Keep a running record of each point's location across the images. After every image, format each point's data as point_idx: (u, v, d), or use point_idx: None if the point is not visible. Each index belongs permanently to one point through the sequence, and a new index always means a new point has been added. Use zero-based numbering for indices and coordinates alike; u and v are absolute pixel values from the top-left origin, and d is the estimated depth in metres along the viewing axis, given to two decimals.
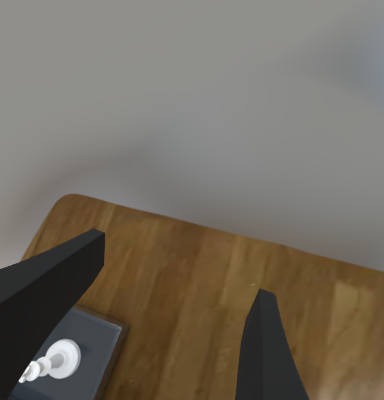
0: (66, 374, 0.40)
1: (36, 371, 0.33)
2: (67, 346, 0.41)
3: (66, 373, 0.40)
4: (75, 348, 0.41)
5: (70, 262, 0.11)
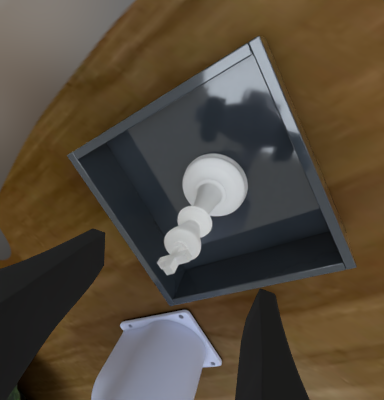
0: None
1: None
2: (235, 182, 0.20)
3: None
4: (243, 194, 0.21)
5: (70, 262, 0.11)
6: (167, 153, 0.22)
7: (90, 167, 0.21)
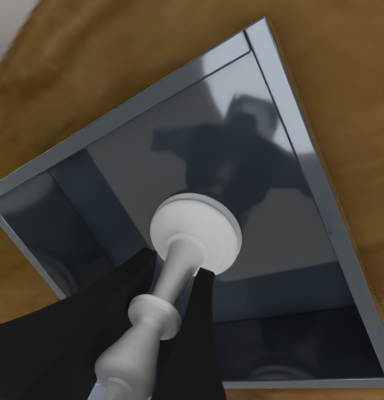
0: None
1: (138, 399, 0.09)
2: (223, 237, 0.14)
3: None
4: (235, 253, 0.14)
5: (131, 285, 0.11)
6: (129, 188, 0.15)
7: (13, 211, 0.14)
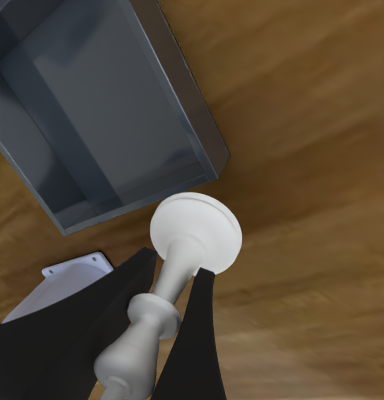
0: None
1: (137, 398, 0.09)
2: (223, 237, 0.14)
3: None
4: (235, 252, 0.14)
5: (131, 285, 0.11)
6: (53, 73, 0.21)
7: None
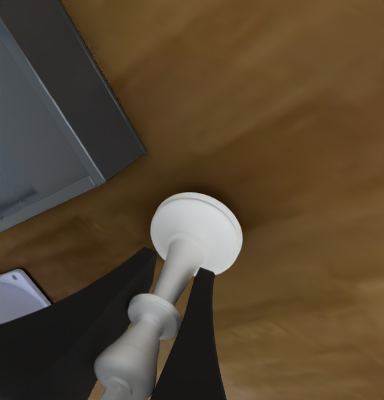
0: None
1: (137, 398, 0.09)
2: (224, 237, 0.14)
3: None
4: (236, 252, 0.14)
5: (131, 285, 0.11)
6: None
7: None
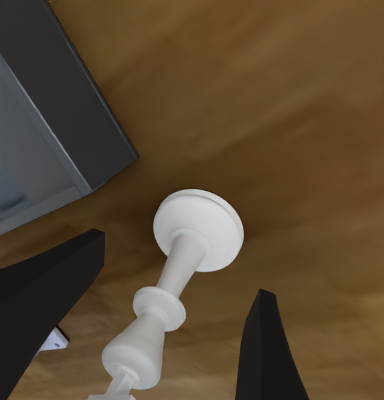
0: None
1: (144, 386, 0.09)
2: (226, 233, 0.14)
3: None
4: (237, 248, 0.15)
5: (70, 262, 0.11)
6: None
7: None
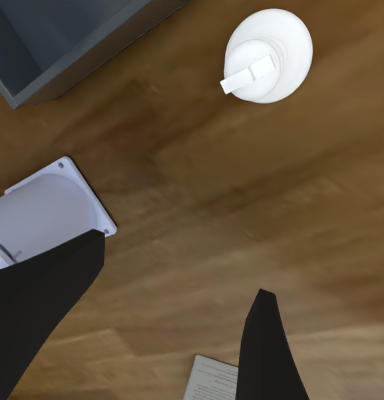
0: None
1: (265, 86, 0.10)
2: (299, 44, 0.15)
3: None
4: (308, 64, 0.16)
5: (70, 262, 0.11)
6: None
7: None
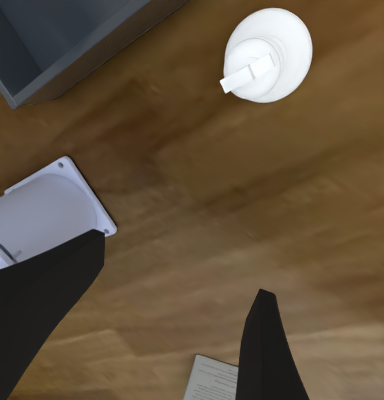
0: None
1: (264, 85, 0.10)
2: (299, 43, 0.15)
3: None
4: (307, 63, 0.16)
5: (70, 262, 0.11)
6: None
7: None
